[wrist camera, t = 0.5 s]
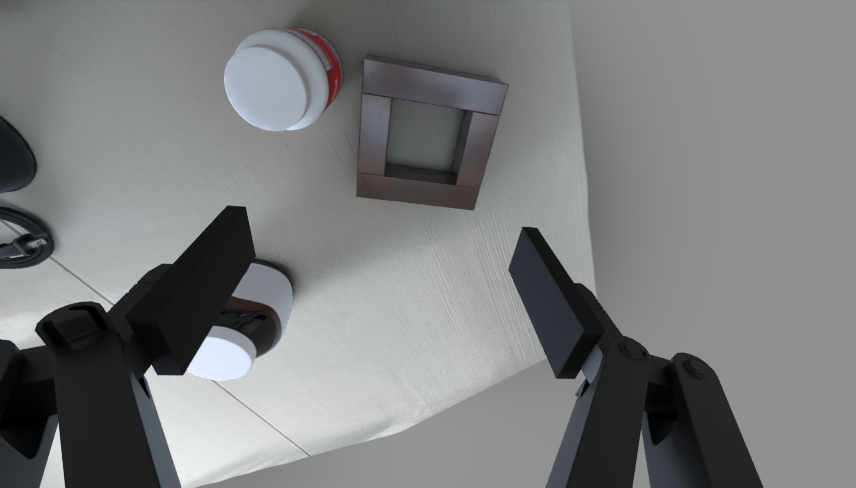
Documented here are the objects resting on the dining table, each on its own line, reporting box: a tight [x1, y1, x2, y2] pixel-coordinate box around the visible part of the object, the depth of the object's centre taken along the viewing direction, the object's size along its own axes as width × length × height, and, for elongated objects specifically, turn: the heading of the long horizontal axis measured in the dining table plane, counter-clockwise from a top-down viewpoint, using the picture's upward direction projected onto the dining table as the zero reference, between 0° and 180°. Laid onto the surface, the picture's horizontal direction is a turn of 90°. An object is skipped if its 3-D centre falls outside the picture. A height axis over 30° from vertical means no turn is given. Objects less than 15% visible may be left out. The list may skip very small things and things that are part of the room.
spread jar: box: [187, 260, 293, 381], centre depth 37 cm, size 12×11×12 cm
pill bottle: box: [224, 28, 342, 131], centre depth 24 cm, size 6×6×11 cm
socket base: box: [356, 55, 508, 210], centre depth 31 cm, size 12×12×4 cm
